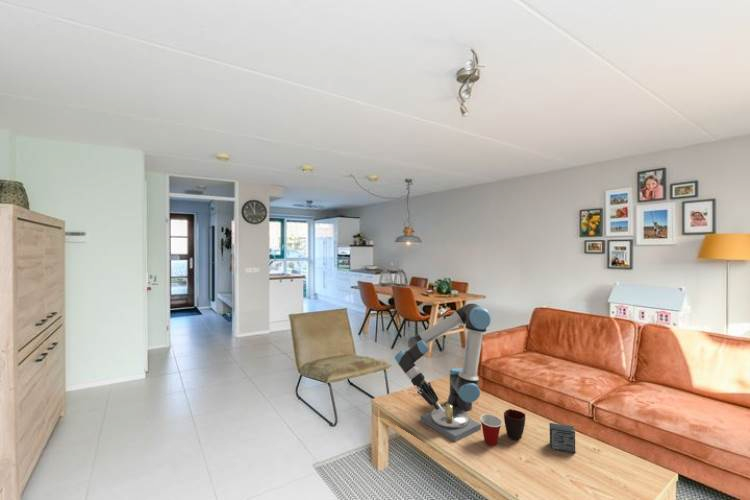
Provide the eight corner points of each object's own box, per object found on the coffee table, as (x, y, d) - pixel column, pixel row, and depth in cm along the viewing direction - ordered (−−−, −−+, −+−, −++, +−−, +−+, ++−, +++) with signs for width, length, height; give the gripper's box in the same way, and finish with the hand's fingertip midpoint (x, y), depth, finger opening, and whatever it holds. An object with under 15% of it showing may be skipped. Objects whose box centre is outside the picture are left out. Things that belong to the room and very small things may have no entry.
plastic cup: (493, 451, 168) (493, 427, 168) (475, 441, 177) (475, 418, 177) (507, 444, 174) (507, 420, 174) (488, 434, 183) (488, 412, 183)
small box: (572, 446, 172) (573, 425, 172) (575, 453, 166) (575, 432, 166) (549, 442, 176) (549, 421, 176) (551, 449, 170) (551, 428, 169)
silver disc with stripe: (442, 407, 207) (442, 388, 207) (474, 417, 195) (474, 397, 194) (424, 420, 192) (424, 400, 191) (458, 433, 179) (458, 411, 179)
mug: (501, 437, 180) (501, 414, 180) (511, 426, 191) (511, 405, 190) (521, 444, 174) (521, 421, 174) (530, 433, 184) (530, 410, 184)
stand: (420, 420, 198) (420, 415, 198) (445, 410, 210) (445, 405, 210) (455, 441, 177) (455, 435, 177) (480, 429, 188) (480, 423, 188)
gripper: (416, 376, 202) (442, 412, 193) (405, 383, 191) (433, 422, 182) (424, 368, 199) (452, 405, 190) (414, 375, 188) (443, 415, 180)
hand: (443, 413), depth 186 cm, fingers closed
